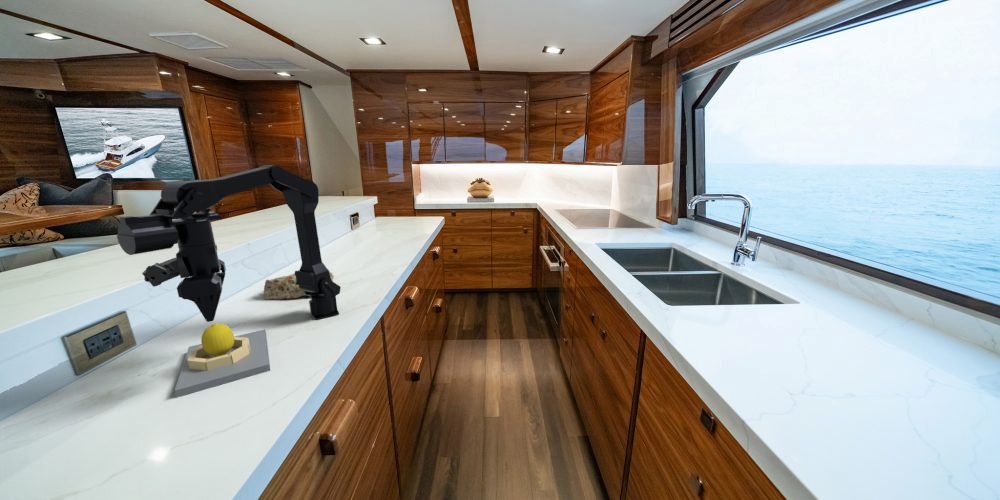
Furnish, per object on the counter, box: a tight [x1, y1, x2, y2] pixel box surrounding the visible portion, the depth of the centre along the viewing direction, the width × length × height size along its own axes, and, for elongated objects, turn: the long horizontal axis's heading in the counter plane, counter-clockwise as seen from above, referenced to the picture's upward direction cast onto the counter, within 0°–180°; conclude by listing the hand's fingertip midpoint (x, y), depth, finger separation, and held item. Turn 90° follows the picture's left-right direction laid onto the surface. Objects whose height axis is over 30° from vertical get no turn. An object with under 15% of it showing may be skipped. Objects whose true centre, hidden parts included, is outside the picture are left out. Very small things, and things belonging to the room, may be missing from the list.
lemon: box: [200, 322, 235, 356], centre depth 74 cm, size 6×6×8 cm
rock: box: [263, 268, 334, 301], centre depth 118 cm, size 21×14×10 cm
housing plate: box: [174, 328, 271, 398], centre depth 76 cm, size 15×20×4 cm
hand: (212, 313), depth 73 cm, fingers open, 9 cm apart
